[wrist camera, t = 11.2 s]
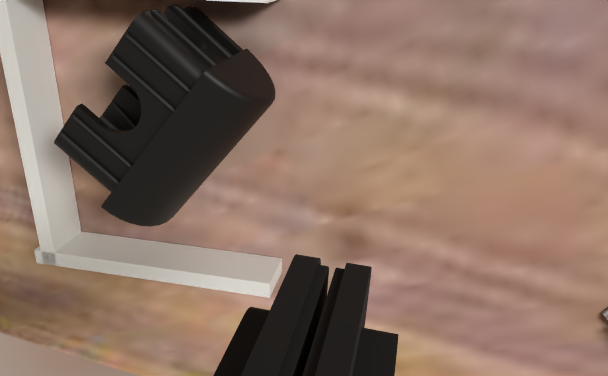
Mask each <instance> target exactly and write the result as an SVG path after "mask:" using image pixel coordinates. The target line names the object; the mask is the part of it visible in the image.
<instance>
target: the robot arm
mask: <svg viewBox="0 0 608 376" xmlns="http://www.w3.org/2000/svg"><path fill="white" fill-rule="evenodd" d="M328 275H329V267H328V266H323V265H321V260H320V258H315V257H309V256H303V255H297V254H296V255H295V256H294V258H293V260H292V262H291V265H290V267H289V269H288V271H287V273H286V276H285V278H284V280H283V282H282V285H281V287H280V289H279V291H278V294H277V296H276V298H275V300H274V303H273V305H272V307H271V309H270V310H264V309H259V308H254V307H250V308H248V310H247V311H246V313H245V315H244V316H243V318H242V320H241V322H240V324H239V326H238V328H237V330H236V332H235V334H234V336H233V338H232V340H231V342H230V344H229V346H228V348H227V350H226V352H225V354H224V356H223V358H222V360H221V362H220V364H219V366H218V368H217V370H216V372H215V374H214V376H394V374H395V364H396V354H397V344H398V334H393V333H388V332H383V331H377V330H372V329H367V328H364V326H365V318H366V310H367V302H368V294H369V286H370V278H371V267H369V266H363V265H357V264H351V263H346V266H345V269H340V268H336V269H335V272H334V275H333V278H332V282H331V285H330V288H329V291H328V295H327V287H328Z"/></svg>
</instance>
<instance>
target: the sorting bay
mask: <svg viewBox="0 0 608 376" xmlns="http://www.w3.org/2000/svg"><path fill="white" fill-rule="evenodd" d="M208 1H232V2H255V3H269V2H273V1H276V0H208ZM0 54H1V59H2V64H3V69H4V74H5V78H6V83H7V88H8V93H9V98H10V103H11V108H12V113H13V118H14V122H15V127H16V132H17V137H18V142H19V147H20V152H21V157H22V162H23V166H24V171H25V176H26V181H27V186H28V191H29V196H30V201H31V206H32V210H33V215H34V220H35V225H36V230H37V235H38V240H39V245H40V246H39V247H37V248H36V249H35V250H34V252H35V257H36V262H37V263H40V264H47V265H54V266H60V267H67V268H74V269H80V270H87V271H94V272H101V273H107V274H114V275H121V276H128V277H134V278H141V279H148V280H155V281H161V282H168V283H175V284H181V285H188V286H195V287H202V288H208V289H215V290H222V291H229V292H235V293H242V294H249V295H255V296H262V297H269V298H270V296H271V293H272V291H273V289H274V287H275V285H276V283H277V281H278V279H279V277H280V274H281V272H282V258H276V257H269V256H261V255H254V254H246V253H239V252H231V251H224V250H216V249H209V248H201V247H194V246H186V245H179V244H171V243H164V242H157V241H149V240H142V239H134V238H127V237H119V236H112V235H104V234H97V233H89V232H82V231H81V227H80V221H79V215H78V209H77V203H76V197H75V191H74V185H73V179H72V173H71V167H70V161H69V156H68V155H67V154H66V153H65V152H64V151H62V150H61V149H60V148H59V147H58V146H57V145H55V144H54V141H55V139H56V137H57V136H58V134H59V133H60V131H61V130H62V128H63V127H64V125H63V119H62V113H61V107H60V101H59V95H58V89H57V83H56V77H55V71H54V65H53V59H52V53H51V47H50V41H49V35H48V29H47V23H46V17H45V11H44V5H43V0H0Z"/></svg>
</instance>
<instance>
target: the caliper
mask: <svg viewBox="0 0 608 376" xmlns="http://www.w3.org/2000/svg"><path fill="white" fill-rule="evenodd" d="M602 314H603V315H604V316H605V317H606V319H607V320H608V309H606V310H605V311H604V312H602Z"/></svg>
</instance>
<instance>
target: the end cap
mask: <svg viewBox="0 0 608 376" xmlns="http://www.w3.org/2000/svg"><path fill="white" fill-rule="evenodd" d="M164 14H165V15H166V16H167V17H168V18H169V19H167V18H166V17H165V16H164V15H162V14H161V13H160V12H159V11H158V10H156V9H155V10H150V11H145V12H142V13H141V14H139V15H138V16H137V17H136V18H135V19H134V20H133V21H132V23H131V24H130V26H129V27H128V29H127V30H126V32H125V33H124V35H123V36H122V38H121V39H120V41H119V43H118V44H117V46H116V47H115V49H114V50H113V52H112V53H111V55H110V56H109V58H108V59H107V61H106V62H105V63H106V64H107V65H108V66H109V67H110V68H111V69H112V70H114V71H115V72H116V73H117V74H118V75H119V76H120V77H121V78H123V79H124V80H125V81H126V82H127V83H128V84H129V86H128V85H124V86H122V87H121V89H120V90H119V92H118V93H117V95H116V96H115V98H114V99H113V100H112V102H111V103H110V105H109V106H108V108H107V109H106V111H105V112H104V113H103V115H102V116H101V117H100V118H98V117H97V116H96V115H95V114H94V113H93V112H91V111H90V110H89V109H88V108H87V107H86V106H84V105H83V104H80V105H78V106H77V107H76V108H75V110H74V111H73V113H72V114H71V116H70V117H69V119H68V120H67V122H66V123H65V125H64V127H63V128H62V130H61V131H60V133H59V134H58V136H57V137H56V139H55V141H54V144H55V145H57V146H58V147H59V148H60V149H61V150H62V151H64V152H65V153H66V154H67V155H68V156H70V157H71V158H72V159H73V160H74V161H75V162H77V163H78V164H79V165H80V166H81V167H82V168H84V169H85V170H86V171H87V172H88V173H89V174H91V175H92V176H93V177H94V178H95V179H96V180H98V181H99V182H100V183H101V184H102V185H104V186H105V187H106V188H107V189H108V190H109V191H111V192H112V193H111V194H110V195H109V197H108V198H107V199H106V201H105V202H104V203H103V204H102V206H101V207H102V208H103V209H105V210H106V211H107V212H109V213H110V214H112V215H114V216H115V217H117V218H119V219H121V220H124V221H126V222H129V223H132V224H136V225H140V226H156V225H160V224H163V223H166V222H167V221H169V220H170V219H171V218H172V217H173V216H174V215H175V214H176V213H177V212H178V211H179V209H180V208H181V207H182V206H183V205H184V204H185V203H186V201H187V200H188V199H189V198H190V197H191V196H192V195H193V193H194V192H195V191H196V190H197V189H198V188H199V187H200V185H201V184H202V183H203V182H204V181H205V180H206V179H207V177H208V176H209V175H210V174H211V173H212V172H213V171H214V169H215V168H216V167H217V166H218V165H219V164H220V163H221V161H222V160H223V159H224V158H225V157H226V156H227V155H228V153H229V152H230V151H231V150H232V149H233V148H234V147H235V145H236V144H237V143H238V142H239V141H240V140H241V139H242V137H243V136H244V135H245V134H246V133H247V132H248V131H249V129H250V128H251V127H252V126H253V125H254V124H255V123H256V121H257V120H258V119H259V118H260V117H261V116H262V115H263V113H264V112H265V111H266V110H267V109H268V108H269V107H270V105H271V104H272V103H273V101H274V99H275V88H274V84H273V82H272V80H271V78H270V76H269V74H268V73H267V71H266V70H265V68H264V67H263V66H262V64H261V63H260V62H259V61H258V60H257V58H256V57H255V56H254V55H253V54H252V53H251V52H250V51H249V50H248V49H245V50H242V49H241V48H240V47H239V46H238V45H237V44H236V43H235V42H234V41H233V40H232V39H231V38H230V37H228V36H227V35H226V34H225V33H224V32H223V31H222V30H221V29H220V28H219V27H218V26H217V25H215V24H214V23H213V22H212V21H211V20H210V19H209V18H208V17H207V16H206V15H205V14H204V13H203V12H201V11H200V10H199V9H197V8H196V7H187V8H185V9H182V8H181V7H180V6H179V5H174V6H169V7H167V8H166V10H165V11H164Z"/></svg>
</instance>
